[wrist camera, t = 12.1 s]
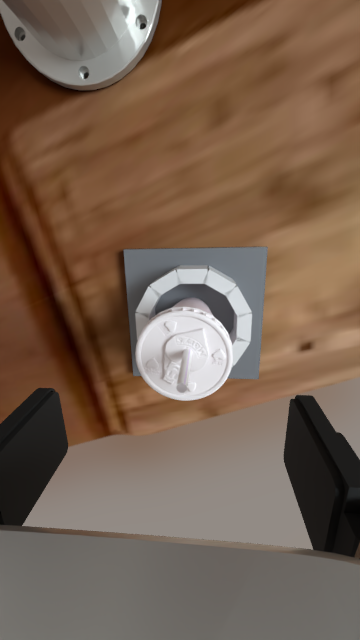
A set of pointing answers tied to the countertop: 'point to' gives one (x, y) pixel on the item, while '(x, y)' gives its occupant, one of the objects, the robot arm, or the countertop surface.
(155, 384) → the smoothie
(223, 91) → the countertop surface
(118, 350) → the countertop surface
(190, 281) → the holder
